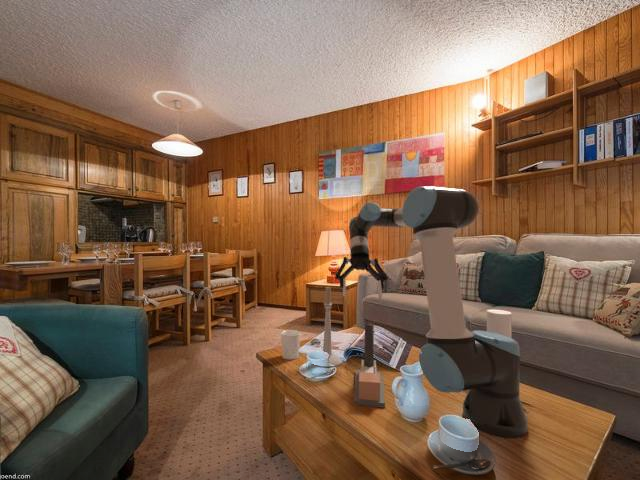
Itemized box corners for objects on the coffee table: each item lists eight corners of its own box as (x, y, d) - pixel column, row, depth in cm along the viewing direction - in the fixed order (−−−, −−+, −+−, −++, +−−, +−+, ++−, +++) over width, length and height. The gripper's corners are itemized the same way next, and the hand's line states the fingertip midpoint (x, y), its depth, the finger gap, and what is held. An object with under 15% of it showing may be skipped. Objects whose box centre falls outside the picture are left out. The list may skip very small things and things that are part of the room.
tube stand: (355, 373, 110) (356, 355, 110) (381, 375, 109) (381, 357, 109) (353, 404, 89) (354, 382, 89) (385, 407, 87) (385, 384, 87)
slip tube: (364, 368, 109) (364, 321, 109) (372, 369, 108) (373, 322, 108) (364, 384, 97) (364, 331, 97) (373, 385, 96) (374, 331, 96)
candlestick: (324, 370, 112) (325, 289, 112) (305, 359, 123) (306, 285, 123) (349, 362, 120) (350, 286, 120) (329, 352, 130) (330, 283, 130)
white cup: (281, 353, 128) (281, 330, 128) (299, 352, 129) (299, 329, 129) (280, 360, 121) (280, 335, 121) (300, 360, 121) (300, 335, 121)
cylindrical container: (504, 381, 104) (504, 309, 105) (515, 392, 97) (516, 314, 98) (482, 380, 105) (483, 309, 105) (492, 390, 98) (493, 313, 98)
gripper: (386, 256, 129) (392, 302, 116) (328, 252, 128) (328, 298, 115) (391, 246, 123) (398, 293, 110) (330, 242, 122) (330, 289, 109)
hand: (362, 296), depth 113 cm, fingers open, 13 cm apart
